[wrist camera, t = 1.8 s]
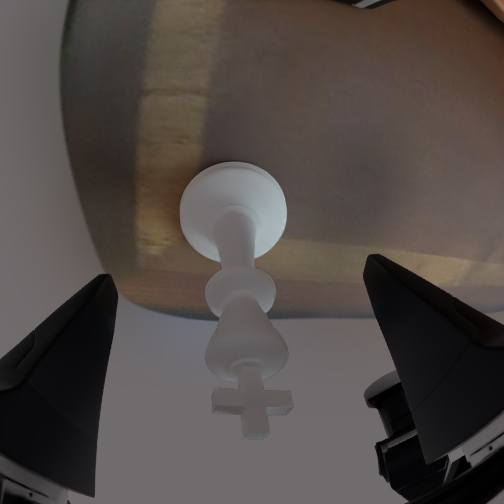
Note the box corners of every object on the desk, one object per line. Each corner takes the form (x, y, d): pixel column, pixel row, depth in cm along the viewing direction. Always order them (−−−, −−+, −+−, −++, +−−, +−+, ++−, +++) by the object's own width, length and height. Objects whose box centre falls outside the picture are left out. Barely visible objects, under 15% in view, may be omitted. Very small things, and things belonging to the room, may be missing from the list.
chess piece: (267, 264, 15) (311, 458, 7) (173, 247, 14) (139, 454, 6) (300, 176, 12) (423, 369, 4) (191, 150, 11) (118, 356, 3)
